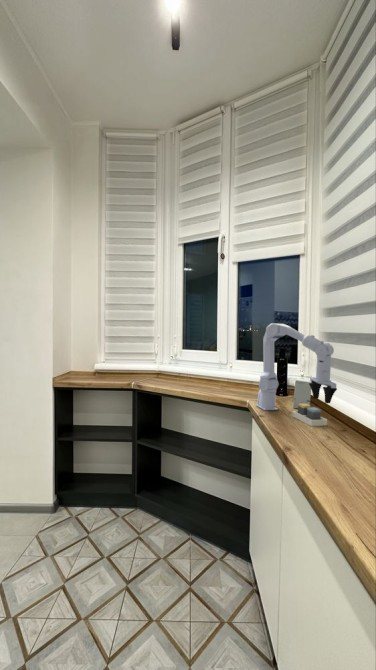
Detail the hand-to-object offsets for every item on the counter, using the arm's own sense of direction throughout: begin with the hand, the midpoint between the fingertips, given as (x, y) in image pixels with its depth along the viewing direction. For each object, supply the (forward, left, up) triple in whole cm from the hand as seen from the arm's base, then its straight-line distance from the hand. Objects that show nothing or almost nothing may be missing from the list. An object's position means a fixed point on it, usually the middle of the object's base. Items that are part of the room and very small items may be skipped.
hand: (321, 400), depth 134 cm
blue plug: (0, -4, -9) cm, 10 cm away
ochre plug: (-7, -4, -9) cm, 12 cm away
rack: (-3, -4, -10) cm, 11 cm away
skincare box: (-22, +6, -10) cm, 25 cm away
